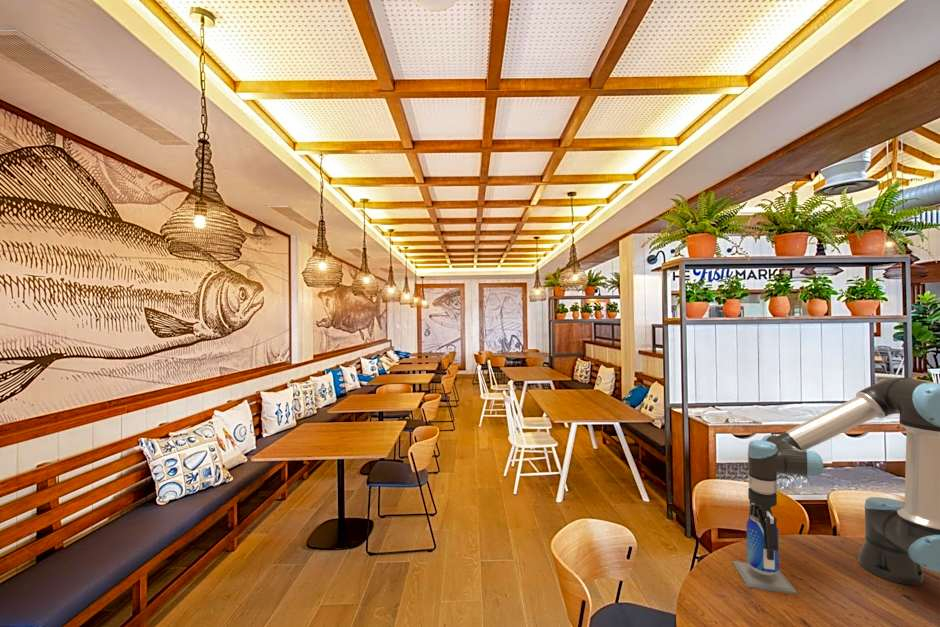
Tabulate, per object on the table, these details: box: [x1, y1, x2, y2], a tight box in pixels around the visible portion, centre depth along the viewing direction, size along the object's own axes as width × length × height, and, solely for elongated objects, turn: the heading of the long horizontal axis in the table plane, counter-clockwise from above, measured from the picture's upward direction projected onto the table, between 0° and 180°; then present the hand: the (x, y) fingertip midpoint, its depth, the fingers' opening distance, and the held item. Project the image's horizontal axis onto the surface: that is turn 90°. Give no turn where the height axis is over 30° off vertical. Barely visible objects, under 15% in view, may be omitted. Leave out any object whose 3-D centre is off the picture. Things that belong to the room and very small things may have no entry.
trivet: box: [732, 560, 798, 596], centre depth 133 cm, size 13×13×1 cm
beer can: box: [746, 515, 780, 575], centre depth 133 cm, size 8×8×16 cm
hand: (762, 559), depth 133 cm, fingers closed on beer can, 8 cm apart
